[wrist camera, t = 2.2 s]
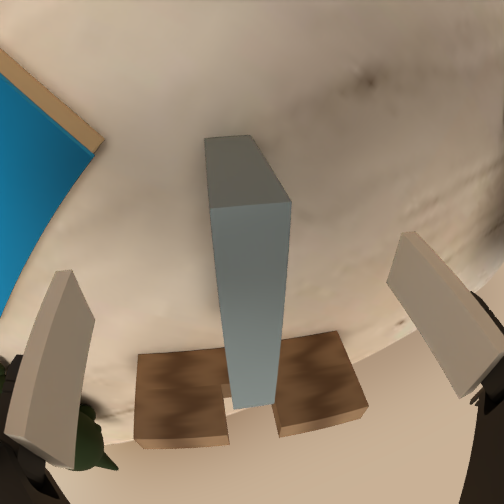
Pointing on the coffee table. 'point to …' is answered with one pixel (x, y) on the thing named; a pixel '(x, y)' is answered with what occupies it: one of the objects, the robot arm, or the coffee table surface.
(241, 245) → the slate plate
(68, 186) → the book
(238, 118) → the coffee table surface
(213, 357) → the walnut board
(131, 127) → the coffee table surface
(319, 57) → the coffee table surface
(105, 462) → the toy figurine
